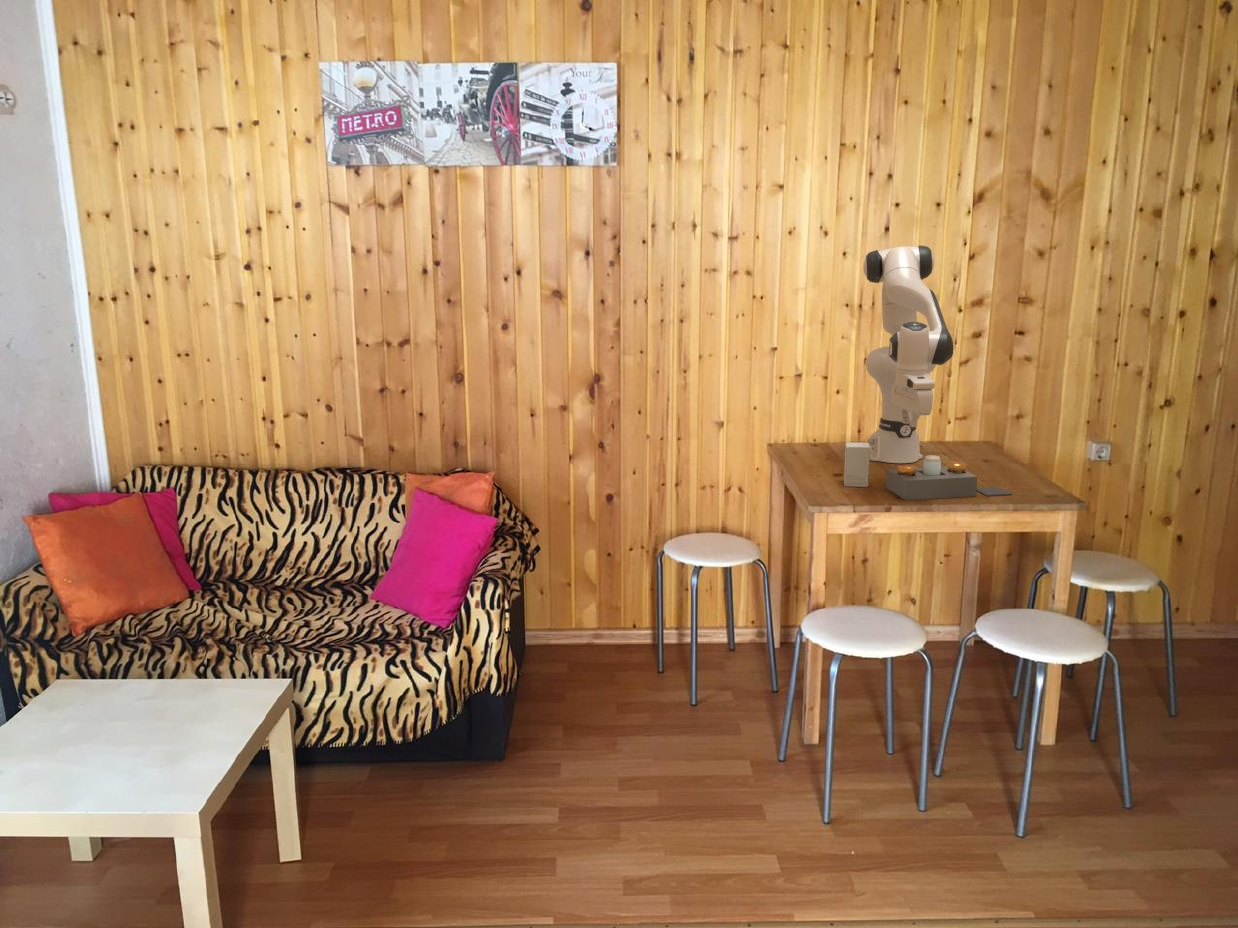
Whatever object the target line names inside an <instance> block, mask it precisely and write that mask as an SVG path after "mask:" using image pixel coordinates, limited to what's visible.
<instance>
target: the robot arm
mask: <svg viewBox="0 0 1238 928" xmlns="http://www.w3.org/2000/svg"><path fill="white" fill-rule="evenodd" d="M934 266H935V255H934V254H933V252H932V250H931V248H930V247H929V246H925V245H917V246H915V245H912V246H907V245H906V246H905V245H904V246H897V247H890V248H885V249H881V250H878V249H877V250H873V251H870V252H868V253H867V254H866V256H865V259H864V261H863V266H862V267H863V268H862V269H863V272H864V276H865V277H866V279H867V281H868V282H870V283H874V284H880V283H882V289H881V314H882V329H884V331H885V332H887V333H888V334H890V335H891V336H890V338H889V346H882V347H879V348H876V349H873V350H872V351H870V352H869V354H868V355H867V357H866V359H865V367H866V371H867V373H868V375H869V376H870V377H871V378H873V379H874V380H875V382H876V383H877V385H878V386H879V390H880V392H881V400H882V401H881V404H882V405H881V406H882V407H881V410H882V411H881V417H879V423H878V428H877V430H875V432H874V433H872V435H870V437H869V438H868V439H867V443H869V446H870V458H869V461H872V462H883V463H888V464H889V463H890V464H911V463H915V462H918V461H919V460H921V459H924V454H922V453H920V450H921V449H920V435H919V433H918V432H917V427H918V421H919V419H920V417H921V416H929V415H930V414H931V412H932V411H933V404H934V403H933V401H934V392H933V390H934V389H935V386H936V383H935V380H934V379H933V378H932V377H931V375H930V373H932V372H934V370H935V368H936V366H937V365H939V366H942V365H944V364H946V363H947V362H949V361H950V359H951V358H953V355H954V349H955V348H954V347H955V345H954V341H953V337H952V335H951V334H950V332H949V330H948V326H947V324H946V321H945V319H944V315H943V312H942V310H941V307H940V304H939V301H938V299H937V296H936V294H935V292H934V291H933V290H932V289H930V288H929V287H927V286H926V285H925V284H924V282H923V280H924V279H927V278H928V277H929V276H930V275H932V272H933V270H934ZM917 313H920V314H922V315H923V316H924V317H925V319H926V321H927V324H925V323H923V322H920V321H918V314H917Z"/></svg>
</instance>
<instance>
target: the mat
mask: <svg viewBox="0 0 1238 928" xmlns="http://www.w3.org/2000/svg"><path fill="white" fill-rule="evenodd" d="M977 492H978V493H980V494H981V495H984V496H985V497H997V496H999V497H1000V496H1012V495H1013V493H1012V492H1010V491H1008V490H1006V489H1003V488H1001V487H1000V486H991V487H977V490H976V493H977Z"/></svg>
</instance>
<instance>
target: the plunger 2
mask: <svg viewBox="0 0 1238 928" xmlns="http://www.w3.org/2000/svg"><path fill="white" fill-rule="evenodd" d="M947 466H948V470H949V471H951V473H953V474H956V473H962V472H963V471H967V470H966V469H967V462H964V461H957V460H956V461H955V460H952V461H948V462H947Z"/></svg>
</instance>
